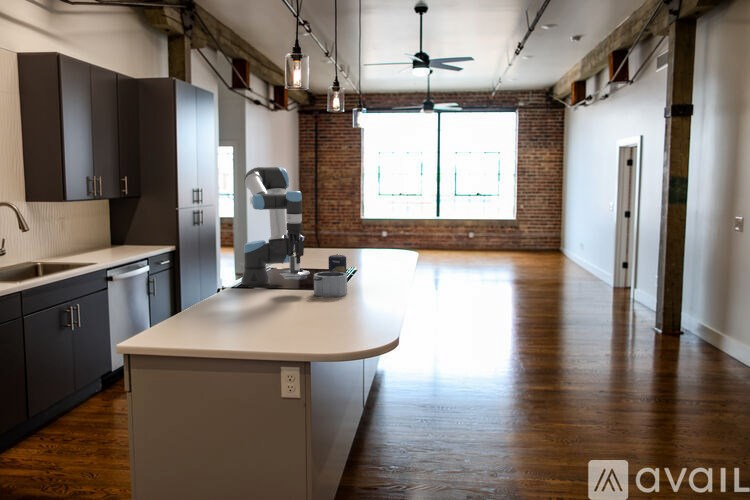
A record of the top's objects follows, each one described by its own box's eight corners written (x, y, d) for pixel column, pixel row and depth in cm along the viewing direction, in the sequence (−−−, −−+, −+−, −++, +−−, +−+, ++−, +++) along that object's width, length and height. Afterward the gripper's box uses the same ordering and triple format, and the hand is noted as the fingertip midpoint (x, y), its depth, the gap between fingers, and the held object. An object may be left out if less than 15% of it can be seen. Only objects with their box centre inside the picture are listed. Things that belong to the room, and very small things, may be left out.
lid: (273, 277, 300) (272, 256, 299) (295, 273, 312) (295, 253, 310) (293, 281, 291) (293, 260, 289) (316, 277, 302) (315, 256, 301)
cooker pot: (303, 295, 299) (303, 275, 298) (333, 289, 316) (333, 270, 315) (326, 299, 289) (326, 278, 288) (357, 292, 306) (357, 273, 305)
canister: (347, 285, 326) (347, 252, 323) (345, 289, 316) (345, 255, 314) (330, 285, 327) (330, 252, 324) (327, 288, 317) (326, 254, 315)
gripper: (277, 221, 300) (278, 268, 303) (299, 224, 290) (300, 272, 293) (288, 220, 305) (289, 266, 309) (311, 223, 295) (311, 270, 299)
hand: (294, 269), depth 301 cm, fingers closed on lid, 3 cm apart
